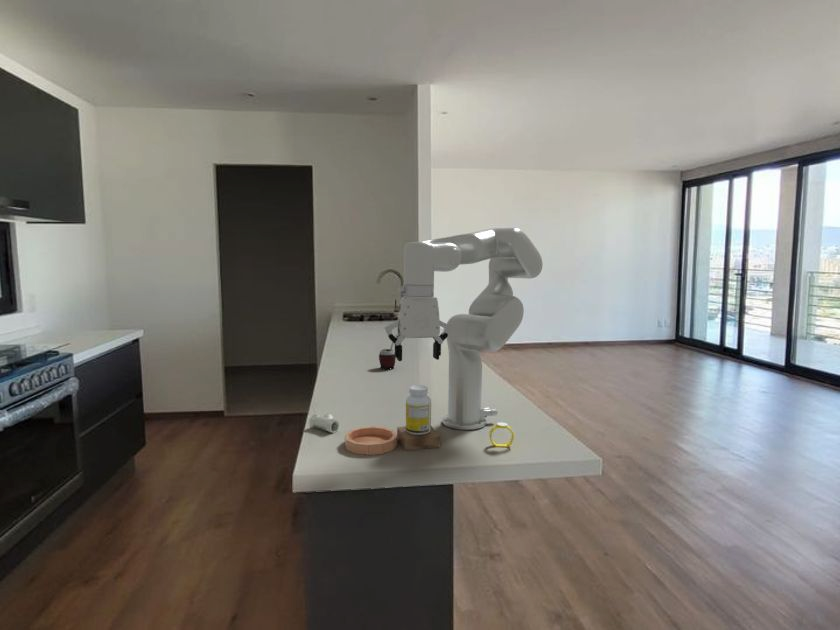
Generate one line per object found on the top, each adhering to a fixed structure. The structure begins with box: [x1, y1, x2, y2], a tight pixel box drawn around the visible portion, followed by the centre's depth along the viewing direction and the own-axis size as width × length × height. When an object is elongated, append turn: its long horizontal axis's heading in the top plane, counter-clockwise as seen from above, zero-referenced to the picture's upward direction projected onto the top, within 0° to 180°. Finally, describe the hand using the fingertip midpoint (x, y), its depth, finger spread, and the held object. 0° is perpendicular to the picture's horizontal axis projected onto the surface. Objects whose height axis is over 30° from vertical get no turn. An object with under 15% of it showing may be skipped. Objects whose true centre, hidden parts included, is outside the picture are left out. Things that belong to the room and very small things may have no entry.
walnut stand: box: [396, 425, 441, 452], centre depth 131 cm, size 9×9×3 cm
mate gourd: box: [378, 332, 398, 371], centre depth 216 cm, size 8×8×15 cm
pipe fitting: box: [308, 413, 340, 434], centre depth 141 cm, size 8×4×7 cm
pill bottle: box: [405, 384, 432, 435], centre depth 130 cm, size 6×6×12 cm
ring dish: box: [344, 426, 398, 456], centre depth 129 cm, size 13×13×2 cm
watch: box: [489, 421, 515, 448], centre depth 129 cm, size 6×3×6 cm, turn 86°
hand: (417, 359), depth 128 cm, fingers open, 9 cm apart
